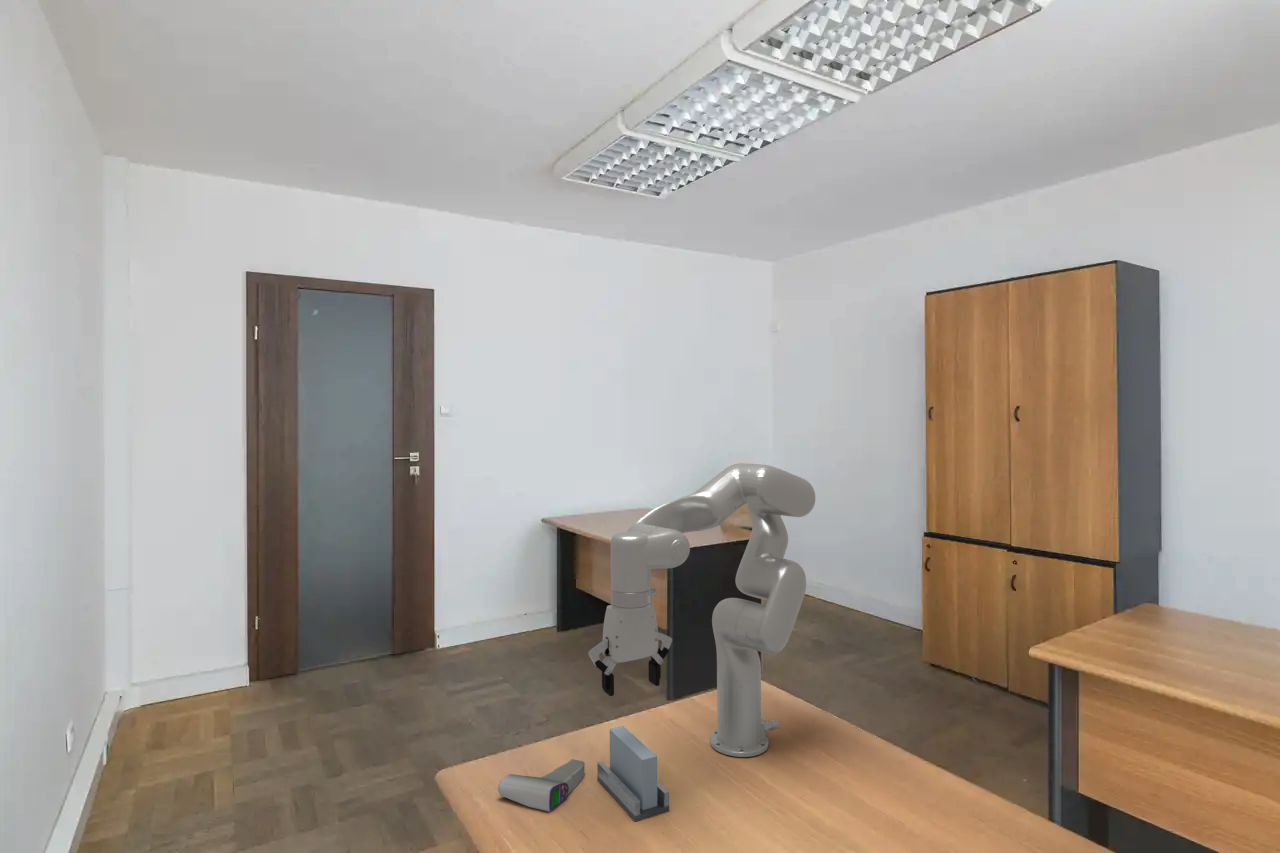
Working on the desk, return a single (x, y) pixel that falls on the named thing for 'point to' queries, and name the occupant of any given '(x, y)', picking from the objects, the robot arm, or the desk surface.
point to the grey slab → (634, 766)
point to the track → (631, 795)
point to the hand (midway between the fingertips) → (631, 688)
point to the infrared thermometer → (543, 786)
